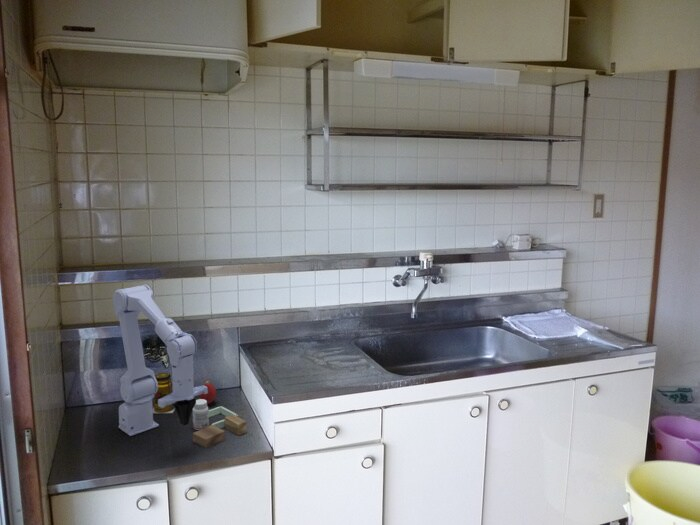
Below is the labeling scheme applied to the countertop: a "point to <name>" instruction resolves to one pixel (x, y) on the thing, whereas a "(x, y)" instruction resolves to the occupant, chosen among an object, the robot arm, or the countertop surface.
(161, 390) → the condiment
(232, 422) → the block
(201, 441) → the tan cardboard block
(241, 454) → the countertop surface
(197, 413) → the pill bottle
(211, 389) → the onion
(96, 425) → the countertop surface
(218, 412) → the corral
